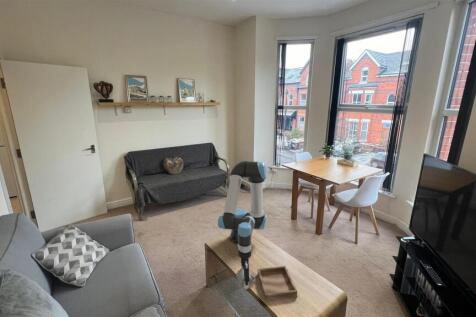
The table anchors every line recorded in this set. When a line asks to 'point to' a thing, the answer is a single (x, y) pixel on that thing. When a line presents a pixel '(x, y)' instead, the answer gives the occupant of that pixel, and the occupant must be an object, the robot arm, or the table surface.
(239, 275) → the ceramic mug
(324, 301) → the table surface
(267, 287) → the crate
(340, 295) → the table surface
